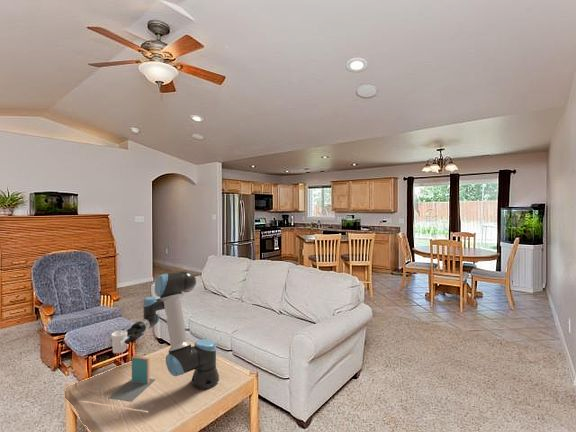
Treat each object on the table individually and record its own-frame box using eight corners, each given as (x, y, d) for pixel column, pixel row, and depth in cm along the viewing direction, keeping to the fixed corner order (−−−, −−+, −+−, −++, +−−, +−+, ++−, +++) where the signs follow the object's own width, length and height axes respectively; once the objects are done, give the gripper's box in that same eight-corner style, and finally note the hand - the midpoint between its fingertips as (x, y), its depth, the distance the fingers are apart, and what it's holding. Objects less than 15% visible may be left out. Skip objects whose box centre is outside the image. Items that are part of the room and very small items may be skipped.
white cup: (123, 353, 168) (123, 335, 167) (108, 354, 167) (108, 336, 167) (130, 347, 176) (129, 330, 175) (115, 347, 175) (115, 330, 174)
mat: (156, 380, 173) (156, 379, 173) (131, 402, 154) (131, 401, 154) (134, 377, 176) (134, 376, 176) (107, 399, 156) (107, 398, 156)
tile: (149, 382, 171) (149, 357, 170) (147, 384, 169) (147, 359, 168) (133, 380, 172) (133, 355, 172) (131, 381, 171) (131, 357, 170)
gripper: (155, 334, 187) (130, 352, 165) (125, 332, 191) (97, 349, 168) (155, 322, 187) (130, 338, 164) (125, 320, 190) (96, 335, 168)
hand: (113, 343), depth 166 cm, fingers closed on white cup, 8 cm apart
